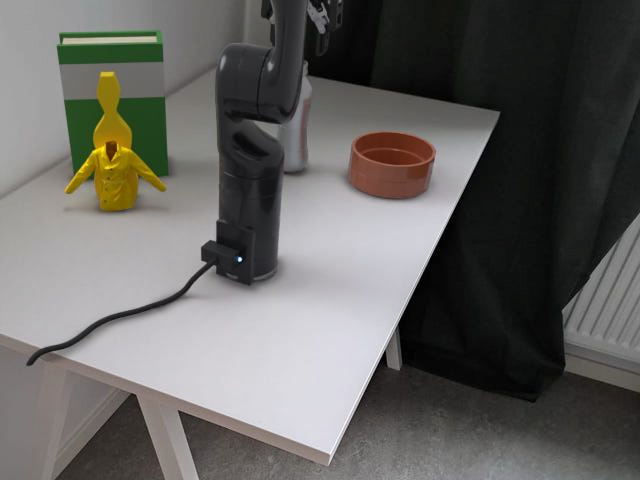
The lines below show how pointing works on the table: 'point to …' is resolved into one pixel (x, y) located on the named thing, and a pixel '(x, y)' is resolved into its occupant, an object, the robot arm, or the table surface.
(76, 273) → the table surface
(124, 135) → the yellow jacket
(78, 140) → the hardback book
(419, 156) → the bowl
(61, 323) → the table surface
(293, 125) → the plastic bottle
